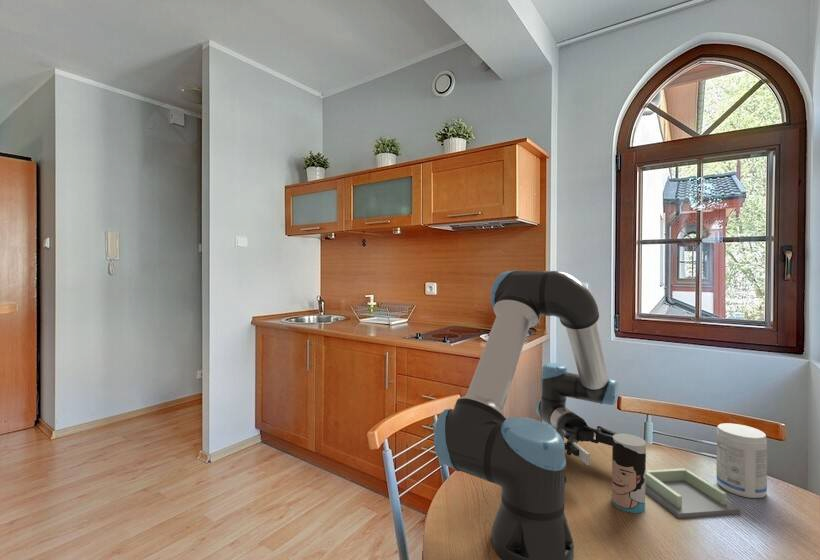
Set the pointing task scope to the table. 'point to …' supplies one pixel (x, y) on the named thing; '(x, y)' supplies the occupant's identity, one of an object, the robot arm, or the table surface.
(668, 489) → the holder
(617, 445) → the white printed cylinder
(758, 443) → the supplement tub
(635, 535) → the table surface
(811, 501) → the table surface
